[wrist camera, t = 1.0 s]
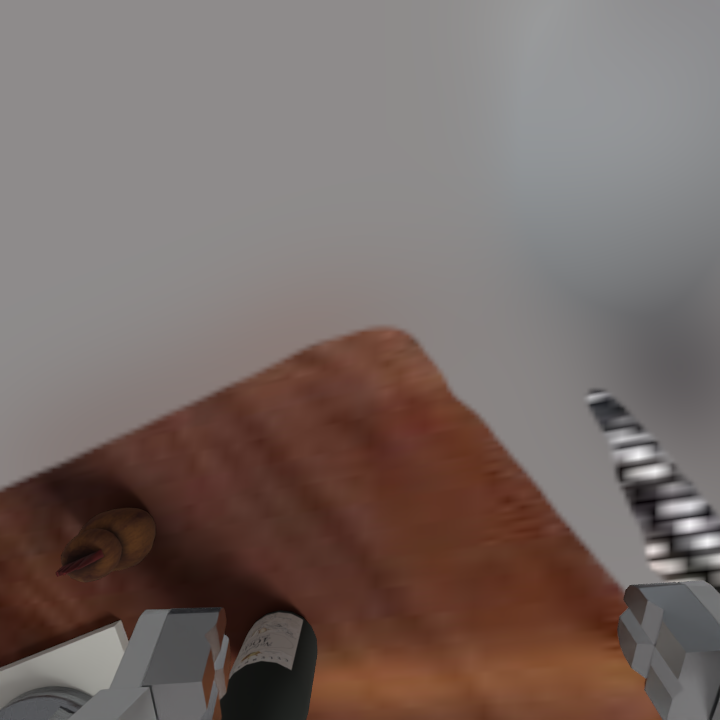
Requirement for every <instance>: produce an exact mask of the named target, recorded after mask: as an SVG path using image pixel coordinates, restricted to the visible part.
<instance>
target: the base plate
mask: <svg viewBox="0 0 720 720" xmlns="http://www.w3.org/2000/svg"><path fill="white" fill-rule="evenodd" d="M128 643H129V641H128V638H127V635H126V633H125V630H124V627H123V624H122V622H121V620H119V621H117V622H114V623H112V624H109V625H107V626H104V627H102V628H99V629H97V630H94V631H91V632H89V633H86V634H84V635H81V636H79V637H76V638H74V639H71V640H69V641H66V642H64V643H61V644H59V645H56V646H54V647H51V648H49V649H46V650H44V651H41V652H39V653H36V654H34V655H31V656H29V657H26V658H24V659H21V660H18V661H16V662H13V663H11V664H8V665H6V666H3V667H1V668H0V709H1V708H3V707H4V706H5V705H6V704H7V703H9V702H10V701H11V700H13V699H14V698H16V697H17V696H19V695H21V694H23V693H25V692H27V691H30V690H33V689H37V688H42V687H50V686H59V687H68V688H72V689H76V690H79V691H81V692H84V693H86V694H88V695H90V696H91V697H93V696H94V695H95V694H96V693H98V692H99V691H100V690H103V689H109V688H110V685H111V683H112V681H113V678H114V676H115V674H116V671H117V669H118V666H119V664H120V662H121V659H122V657H123V655H124V652H125V650H126V648H127V645H128Z"/></svg>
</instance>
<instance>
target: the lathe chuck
mask: <svg viewBox="0 0 720 720" xmlns="http://www.w3.org/2000/svg"><path fill="white" fill-rule="evenodd" d="M91 698H92V697H91V696H90V695H88V694H86V693H84V692H81V691H79V690H76V689H72V688H68V687H59V686H50V687H42V688H37V689H33V690H30V691H27V692H25V693H23V694H21V695H19V696H17V697H16V698H14V699H13V700H11V701H10V702H9V703H7V704H6V705H5V706H4V707H3V708H1V709H0V720H68V719H69V718H70V717H71V716H72V715H73V714H74V713H75V712H77V711H78V710H79V709H80V708H81V707H82V706H83V705H84V704H85V703H86V702H88V701H89V700H90V699H91Z"/></svg>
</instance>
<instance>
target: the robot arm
mask: <svg viewBox="0 0 720 720" xmlns="http://www.w3.org/2000/svg"><path fill="white" fill-rule="evenodd" d="M623 600H624V602H625V603H626V605H627V606H628V607H629V608H628V609H627V610H626V611H625V612H624V613H623V614H622V615H621V616H620V617H619V623H618V629H617V631H618V637H619V643H620V646H621V649H622V651H623V654H624V656H625V658H626V660H627V661H628V663H629V665H630V667H631V668H632V669H634V670H635V671H636V672H638V673H639V674H640V675H642V676H643V677H645V678H646V679H645V689H644V690H645V691H646V693H647V695H648V696H649V698H650V700H651V701H652V703H653V704H654V706H655V708H656V709H657V711H658V713H659V714H660V716H661V718H662V719H663V720H720V594H719V593H718V592H717V591H716V590H715V589H714V588H713V586H711V585H710V584H709V583H707V582H705V581H687V582H678V583H676V582H669V583H654V584H638V585H630V586H629V587H628V588H627V589H626V591H625V595H624V599H623ZM226 623H227V620H226V614H225V609H224V608H222V607H213V608H176V609H157V610H145V611H144V612H143V614H142V615H141V616H140V617H139V619H138V622H137V624H136V626H135V629H134V631H133V634H132V636H131V638H130V641H129V643H128V645H127V648H126V650H125V652H124V655H123V657H122V659H121V662H120V664H119V666H118V669H117V671H116V674H115V676H114V678H113V681H112V683H111V685H110V688H109V689H103V690H100V691H99V692H98V693H96V694H95V695H94V696H93V697H92V698H91V699H90V700H89V701H88V702H86V703H85V704H84V705H83V706H82V707H81V708H80V709H79V710H78V711H77V712H75V713H74V714H73V715H72V716H71V717H70V718H69V719H68V720H221V718H222V715H221V708H220V699H221V698H222V697H223V696H224V695H225V694H226V692H227V687H228V681H229V673H230V662H231V656H230V641H229V638H228V637H227V636H226V635H225V634H224V632H225V627H226Z"/></svg>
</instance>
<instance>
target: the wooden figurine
mask: <svg viewBox="0 0 720 720" xmlns="http://www.w3.org/2000/svg"><path fill="white" fill-rule="evenodd" d="M155 535H156V525H155V523H154V520H153V517H152V516H151V515H150V514H149V513H148V512H147V511H144V510H141V509H139V508H119V509H113V510H110V511H106V512H103V513H100V514H98V515H96V516H94V517H93V518H92V519H90V520H89V521H88V522H87V523H86V524H85V525H84V526H83V527H82V529H81V530H80V532H79V534H78V535H77V536H76V537H74V538H73V539H72V540H71V541H70V542H69V543H68V544H67V546H66V547H65V549H64V551H63V553H62V555H61V559H62V567H61V568H60V569H59V570H58V571H57V572H56V575H57V577H58V576H61V575H66V574H68V575H69V576H70V577H71V578H73V579H75V580H77V581H81V582H90V581H95V580H98V579H100V578H102V577H104V576H106V575H108V574H109V573H110V572H112V571H117V570H123V569H126V568H129V567H132V566H135V565H137V564H139V563H140V562H141V561H142V560H143V559H144V558H145V557H146V555H147V554H148V553H149V552H150V550H151V549H152V546H153V542H154V538H155Z"/></svg>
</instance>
